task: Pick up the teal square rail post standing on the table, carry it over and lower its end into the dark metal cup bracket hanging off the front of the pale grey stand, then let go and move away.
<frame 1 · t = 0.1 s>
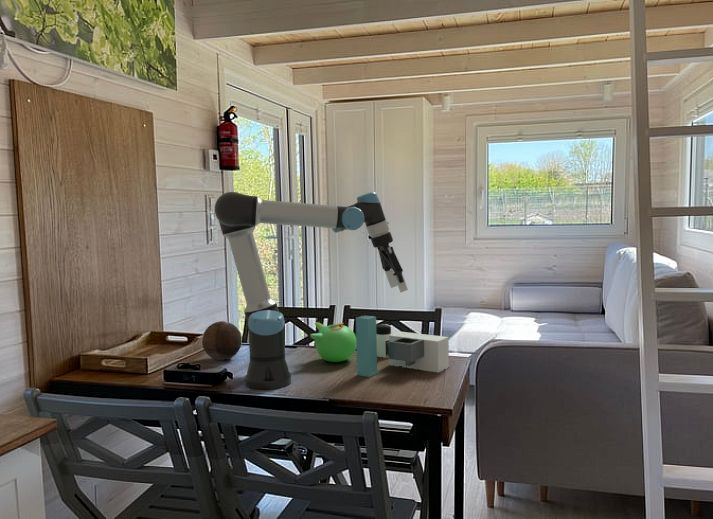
hand: (399, 288, 214), 28 cm above the table, tool tilted 20°, fingers open, 13 cm apart
green round body: (335, 361, 223), on the table
rail post: (367, 374, 203), on the table
medicine bottle: (383, 355, 230), on the table
stand: (418, 366, 212), on the table
wooden sphere: (222, 360, 228), on the table
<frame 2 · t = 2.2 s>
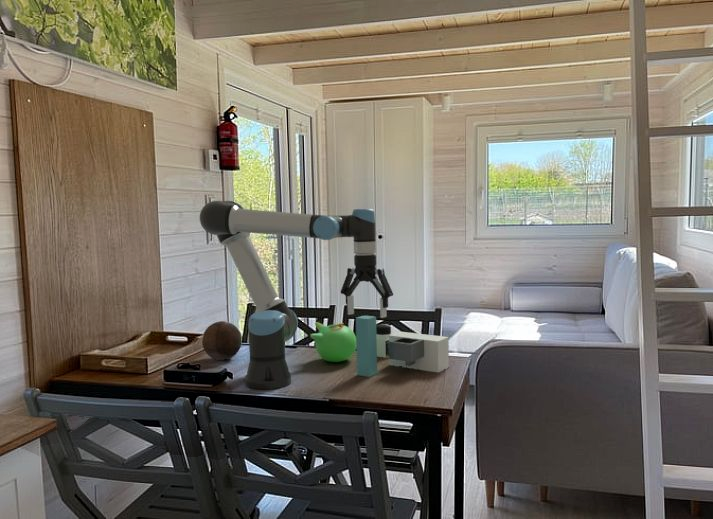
hand: (366, 315, 201), 20 cm above the table, tool pointing down, fingers open, 13 cm apart
nothing on the table moved.
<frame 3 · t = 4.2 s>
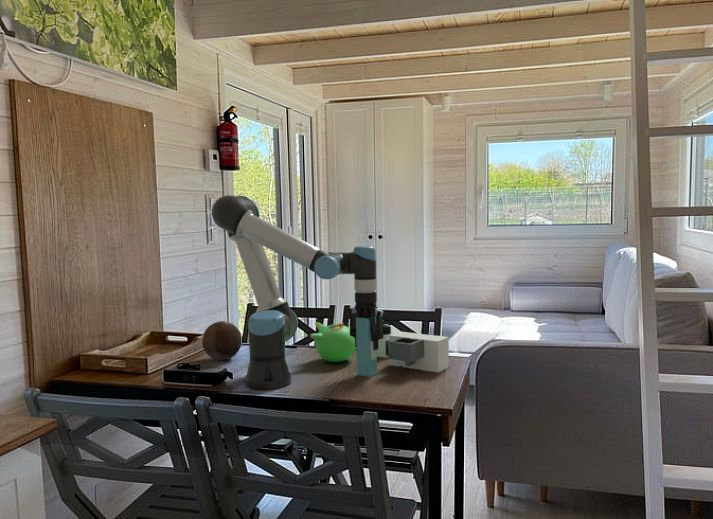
hand: (366, 357, 203), 6 cm above the table, tool pointing down, fingers closed on rail post, 5 cm apart
rail post: (367, 374, 203), on the table, touching gripper
everything else where it was.
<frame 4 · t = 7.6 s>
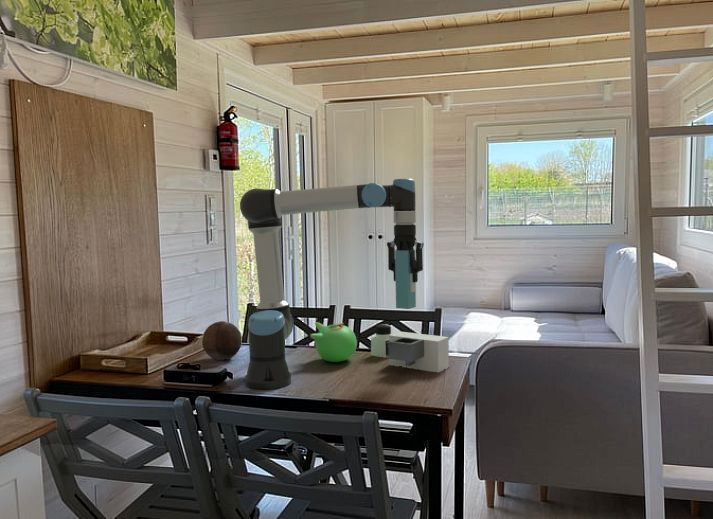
hand: (405, 291, 203), 28 cm above the table, tool pointing down, fingers closed on rail post, 5 cm apart
rail post: (405, 307, 204), point 23 cm above the table, touching gripper
everything else where it was.
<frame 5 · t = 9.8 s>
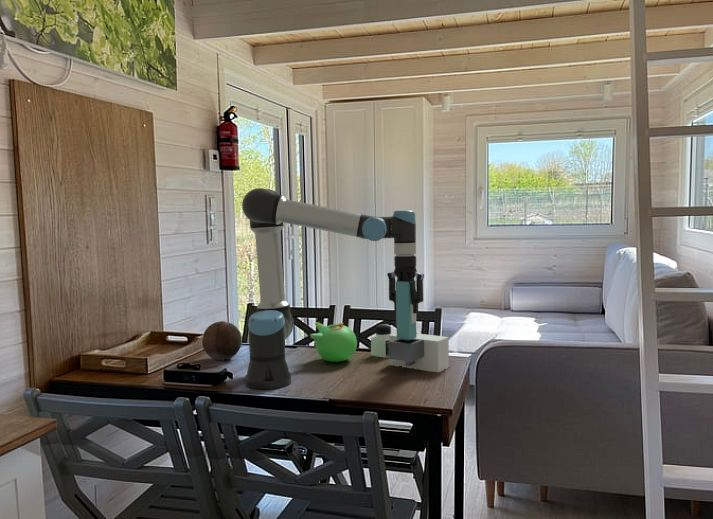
hand: (406, 321, 204), 18 cm above the table, tool pointing down, fingers closed on rail post, 5 cm apart
rail post: (406, 337, 204), point 12 cm above the table, touching gripper
everything else where it was.
when the fingers open (13 cm above the table, at t = 11.3 s): rail post drops 1 cm, resting on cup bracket.
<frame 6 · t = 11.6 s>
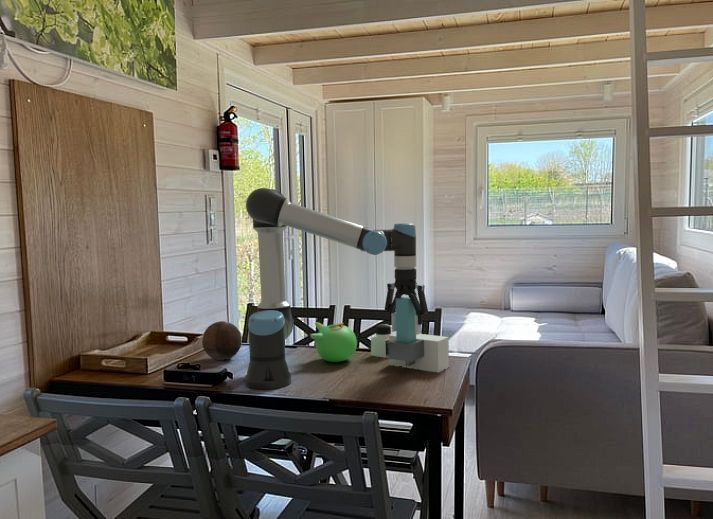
hand: (406, 332, 204), 14 cm above the table, tool pointing down, fingers open, 9 cm apart
rail post: (406, 354, 205), point 6 cm above the table, touching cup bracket
everything else where it was.
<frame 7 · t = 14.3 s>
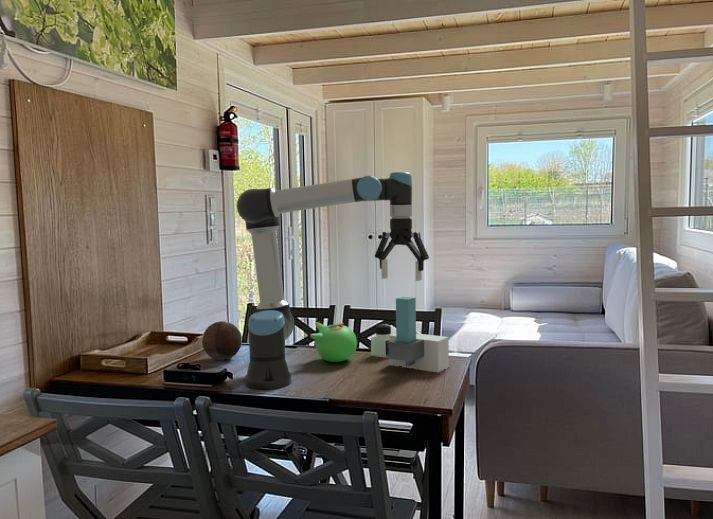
hand: (401, 279, 202), 33 cm above the table, tool pointing down, fingers open, 13 cm apart
nothing on the table moved.
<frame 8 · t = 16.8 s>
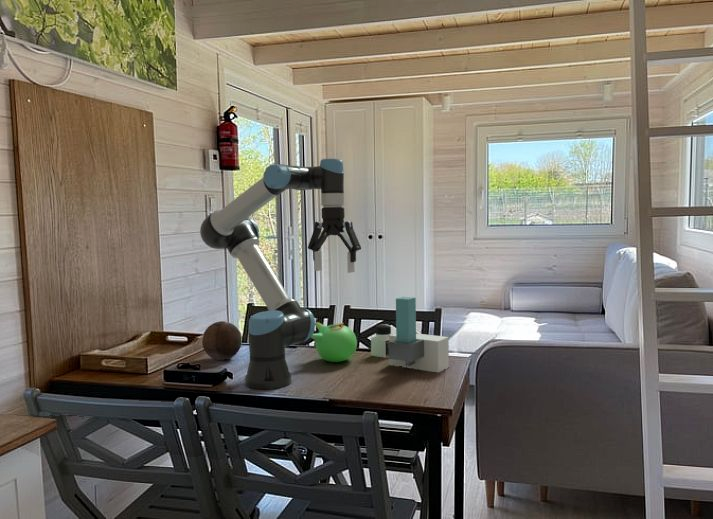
hand: (334, 271, 193), 37 cm above the table, tool pointing down, fingers open, 13 cm apart
nothing on the table moved.
at the end: rail post 0.0 cm off-centre on the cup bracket, point 6.0 cm above the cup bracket's base; rail post tilted 0°; the gripper is holding nothing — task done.
